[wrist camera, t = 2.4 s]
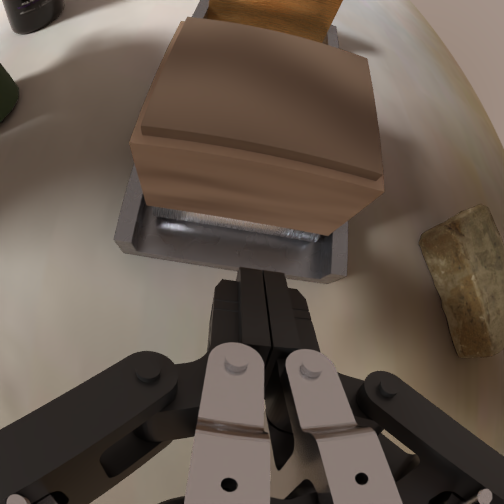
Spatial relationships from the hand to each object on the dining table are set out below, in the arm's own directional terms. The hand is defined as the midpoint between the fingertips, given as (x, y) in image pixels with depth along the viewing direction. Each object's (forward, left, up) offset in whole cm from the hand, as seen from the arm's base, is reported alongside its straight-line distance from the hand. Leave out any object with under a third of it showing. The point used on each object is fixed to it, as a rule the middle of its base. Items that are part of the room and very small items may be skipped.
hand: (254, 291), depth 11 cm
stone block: (+14, +12, -9) cm, 21 cm away
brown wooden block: (-4, +7, -5) cm, 10 cm away
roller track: (-7, +12, -8) cm, 17 cm away
